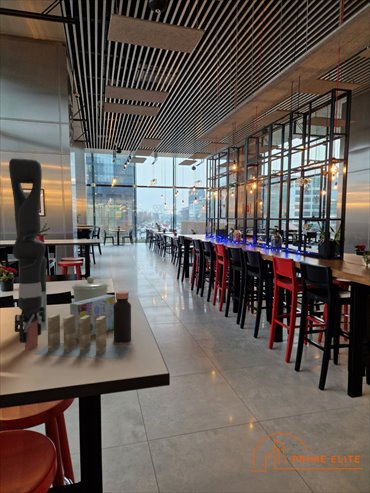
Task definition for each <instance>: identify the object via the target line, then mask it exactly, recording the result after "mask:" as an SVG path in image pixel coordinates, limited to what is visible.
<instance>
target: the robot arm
mask: <svg viewBox="0 0 370 493" xmlns="http://www.w3.org/2000/svg"><path fill="white" fill-rule="evenodd" d="M8 162H9V163H8V171H9V179H10V184H11V189H12V196H13V207H14V209H13V210H14V220H15V222H14V223H15V230H16V231H15V232H16V240H15V242H14V244H13V248H12V256H13V257H14V258H15V259H16V260H18V282H19V284H18V309H20V310H21V313H19V314H15V316H14V332H15V333H19V334H18V335H19V342H20V343H21V344H25V343H26V342H27V332H26V331H27V328H28V327H29V326H30V324H31V323H32V322H35V321H36V319H37V328H38V336H41V335H42V331H45V330H48V316H47V313H48V312H47V311H48V310H47V258H46V256H45V253H46V245H45V243H44V241H41V240H35V239H36V238H37V237H38V235H39V233H40V231H41V214H40V203H41V193H42V182H43V171H42V165H41V162H40V161H39V160H38V159H29V158H11V159H10V160H9V161H8ZM22 184H32V186H31V190H30V192H29V193H28V196H27V195H26V193H25V191H24V190H23V187H22ZM24 322H25V323H24ZM24 326H25V327H24Z"/></svg>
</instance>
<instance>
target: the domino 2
mask: <svg viewBox="0 0 370 493" xmlns="http://www.w3.org/2000/svg"><path fill="white" fill-rule="evenodd" d="M60 343H61V314H60V313H59V314H58V313H55V314H53V315H50V316H47V346H48V351H54V350H55V349H57V348H58V347H60Z"/></svg>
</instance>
